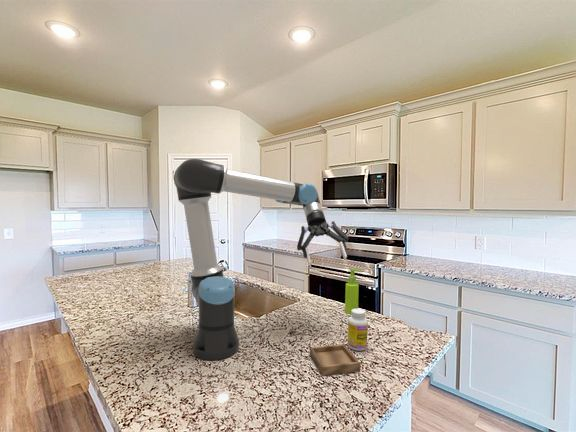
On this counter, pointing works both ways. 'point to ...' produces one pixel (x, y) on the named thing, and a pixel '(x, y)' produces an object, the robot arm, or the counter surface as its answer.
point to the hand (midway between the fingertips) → (327, 261)
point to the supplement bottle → (357, 330)
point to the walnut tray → (334, 359)
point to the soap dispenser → (351, 293)
